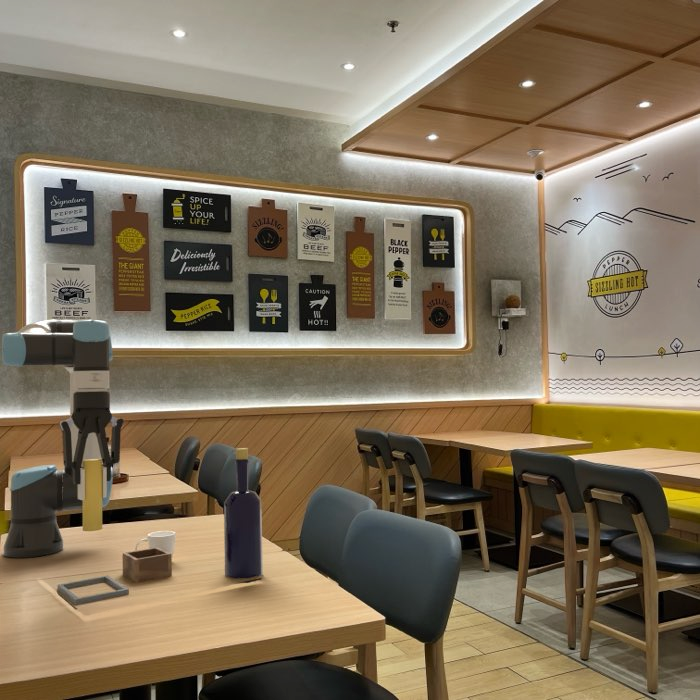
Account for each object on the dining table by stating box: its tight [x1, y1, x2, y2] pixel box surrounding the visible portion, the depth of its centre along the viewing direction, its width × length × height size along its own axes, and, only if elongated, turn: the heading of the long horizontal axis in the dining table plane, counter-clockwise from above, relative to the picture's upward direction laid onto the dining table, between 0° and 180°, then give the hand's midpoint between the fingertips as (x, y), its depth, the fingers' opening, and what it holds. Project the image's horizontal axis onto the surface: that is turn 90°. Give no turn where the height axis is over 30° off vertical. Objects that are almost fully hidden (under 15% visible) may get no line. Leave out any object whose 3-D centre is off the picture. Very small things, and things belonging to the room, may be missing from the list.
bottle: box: [223, 447, 264, 584], centre depth 164 cm, size 9×9×30 cm
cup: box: [134, 530, 177, 556], centre depth 175 cm, size 7×10×8 cm
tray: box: [56, 575, 130, 610], centre depth 151 cm, size 14×11×2 cm
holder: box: [122, 547, 173, 583], centre depth 164 cm, size 9×9×6 cm
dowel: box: [82, 459, 103, 532], centre depth 152 cm, size 4×4×15 cm
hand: (92, 497), depth 152 cm, fingers closed on dowel, 4 cm apart
